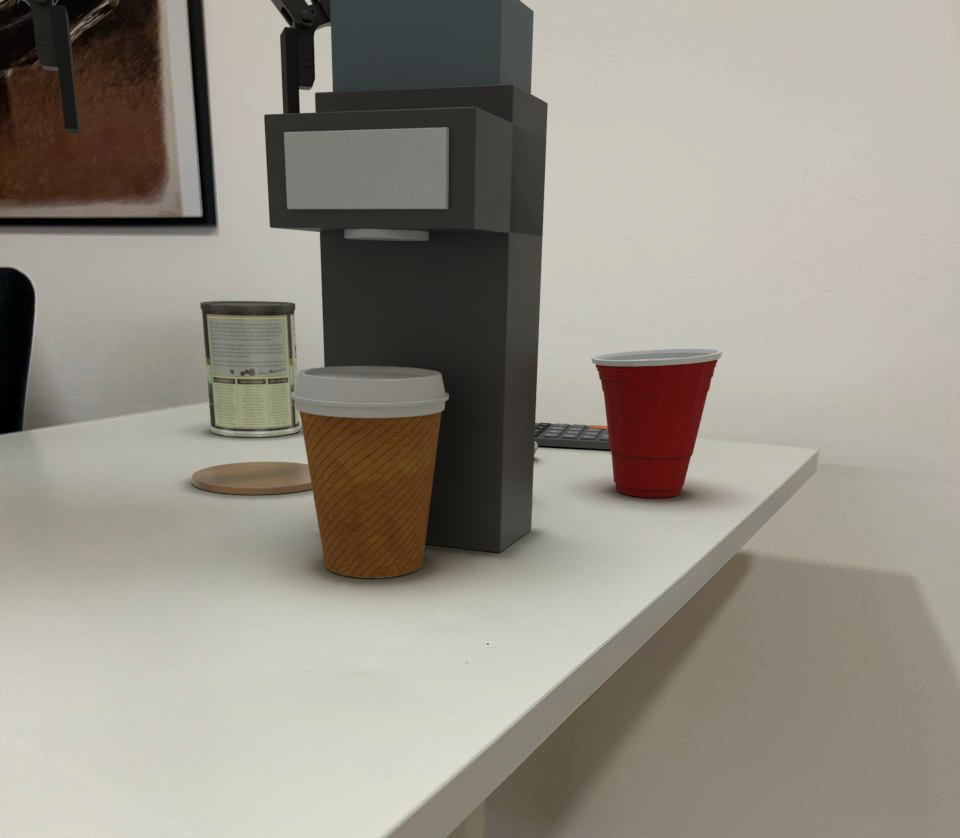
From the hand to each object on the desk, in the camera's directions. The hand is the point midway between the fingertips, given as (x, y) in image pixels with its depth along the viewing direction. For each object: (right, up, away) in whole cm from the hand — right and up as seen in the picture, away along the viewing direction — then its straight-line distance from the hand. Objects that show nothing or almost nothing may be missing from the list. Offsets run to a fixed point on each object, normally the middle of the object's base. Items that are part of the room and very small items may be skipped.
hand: (186, 139), depth 63 cm
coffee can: (-7, -8, +51) cm, 52 cm away
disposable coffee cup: (+12, -28, 0) cm, 30 cm away
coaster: (0, -18, +24) cm, 30 cm away
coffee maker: (+14, -25, +5) cm, 30 cm away
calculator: (+28, -9, +49) cm, 57 cm away
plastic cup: (+33, -19, +23) cm, 45 cm away
